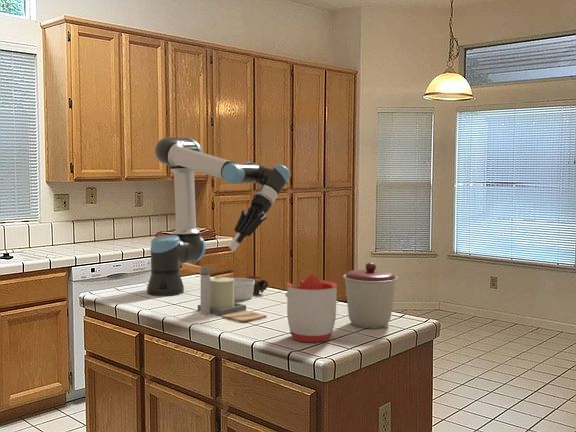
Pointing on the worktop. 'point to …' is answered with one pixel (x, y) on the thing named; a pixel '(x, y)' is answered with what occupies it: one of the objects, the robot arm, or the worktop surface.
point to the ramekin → (243, 288)
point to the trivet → (244, 316)
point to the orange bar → (196, 268)
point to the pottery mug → (258, 284)
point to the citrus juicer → (311, 309)
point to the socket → (205, 301)
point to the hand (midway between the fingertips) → (231, 248)
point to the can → (221, 293)
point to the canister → (370, 296)
